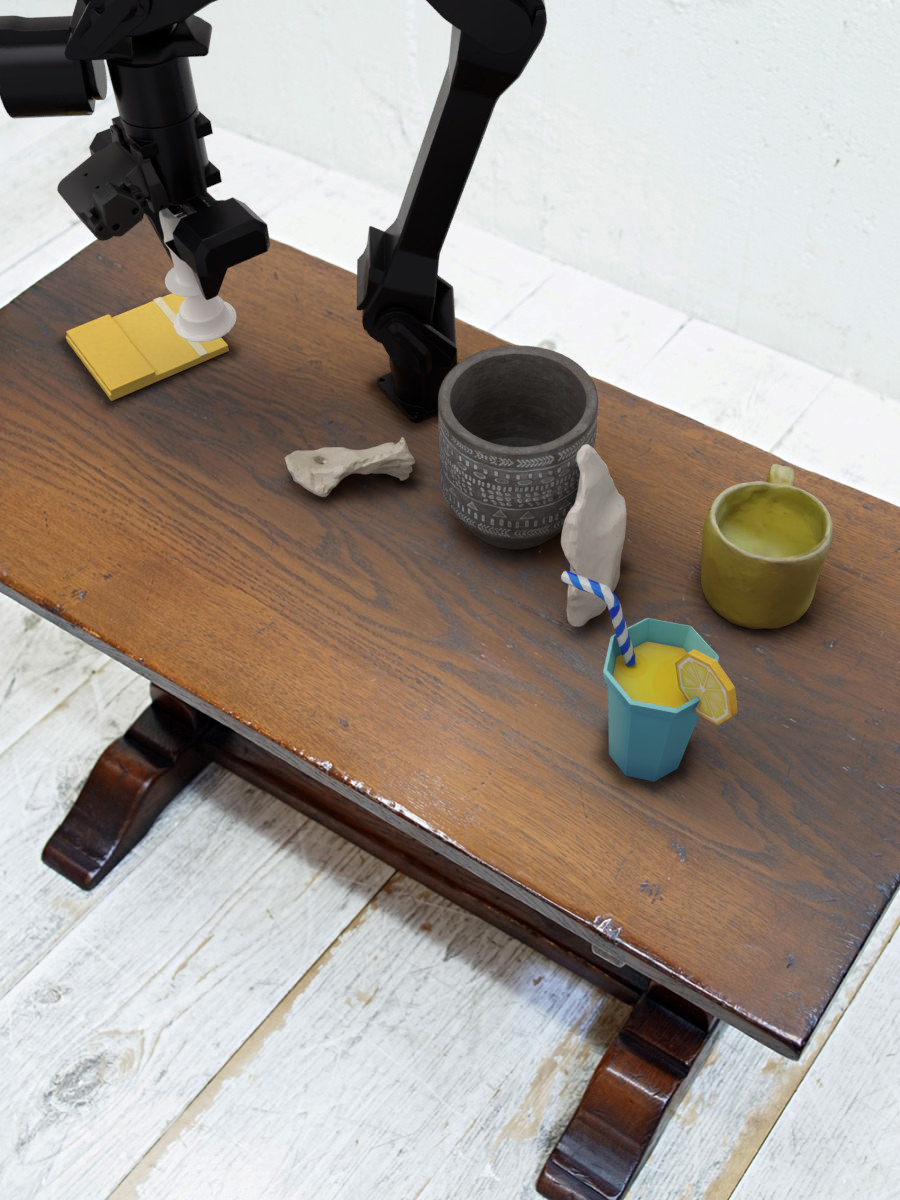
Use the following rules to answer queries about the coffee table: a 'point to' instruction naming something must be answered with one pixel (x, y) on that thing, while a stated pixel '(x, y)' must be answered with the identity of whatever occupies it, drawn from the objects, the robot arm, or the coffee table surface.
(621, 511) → the stone
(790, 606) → the mug
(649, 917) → the coffee table surface
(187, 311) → the candle
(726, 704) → the cup
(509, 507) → the planter
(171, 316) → the towel
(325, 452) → the off-white irregular piece
